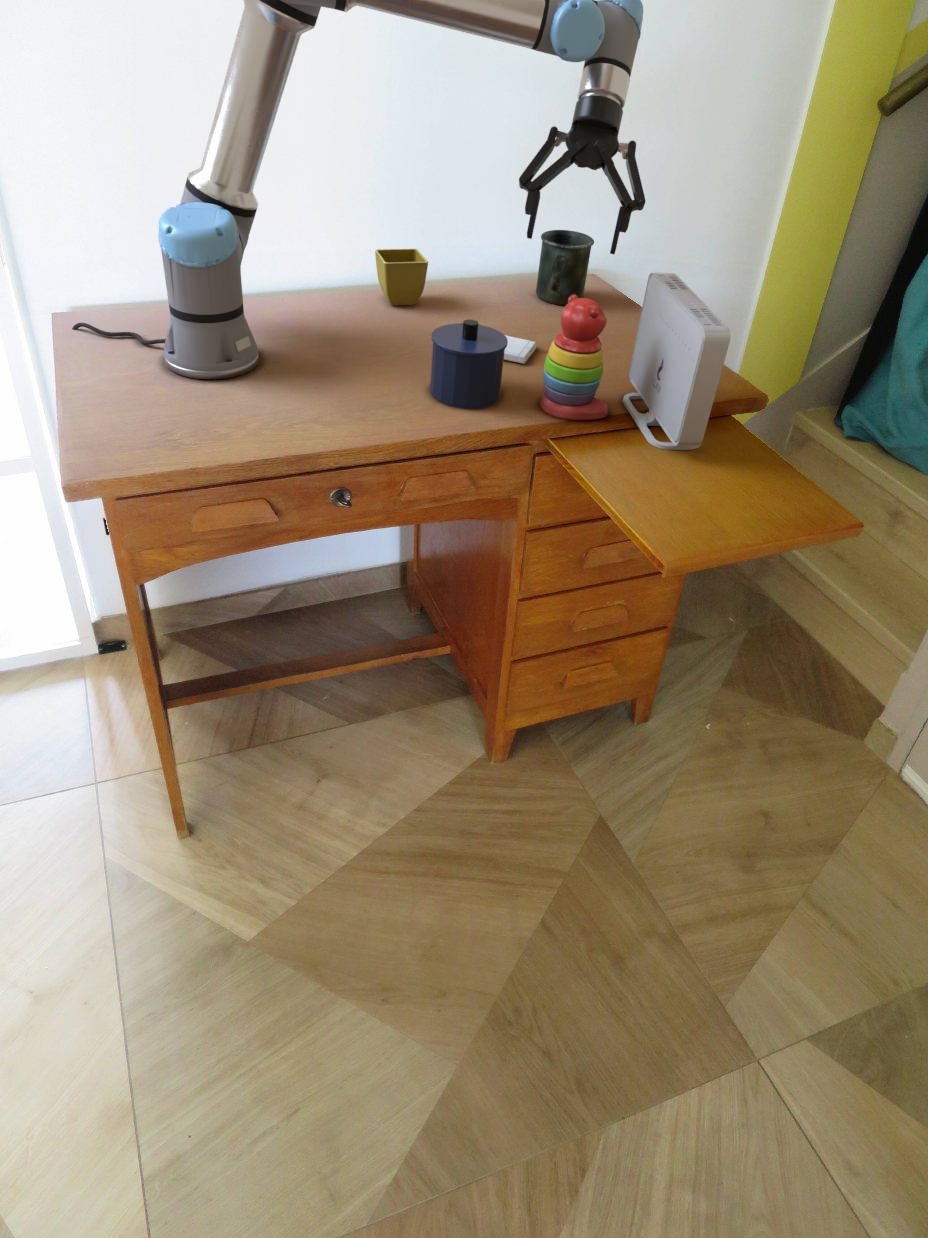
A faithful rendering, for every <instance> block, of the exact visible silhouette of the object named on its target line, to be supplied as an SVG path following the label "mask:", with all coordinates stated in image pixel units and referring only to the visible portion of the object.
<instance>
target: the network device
mask: <svg viewBox="0 0 928 1238" xmlns="http://www.w3.org/2000/svg"><path fill="white" fill-rule="evenodd" d="M646 281H647V282H646V286H645V292H644V297H643V301H642V306H641V311H640V315H639V316H640V317H639V321H638V325H637V330H636V336H635V341H634V345H633V350H632V354H631V360H630V365H629V372H628V377H629V381H630V383H631V384H632V386H633V387H634V389H635V390H636V392H629V393H626V394H624V395H623V398H622V404H623V405H624V407H625V408H626V410H627V412H629V414H630V416H631V417H632V420H633V421H634V422H635V424H636V426H637V428H638V429H639V431H640V432H641V433H642V435H643V437H644V438H645V439H646V441H647V442H648V443H649V444H650V445H651V446H653V447H655V448H658V449H662V450H667V451H669V450H670V451H671V450H673V451H679V450H680V451H682V450H683V451H685V450H686V451H687V450H696V449H698V448H700V447H701V445H702V444H703V441H704V437H705V434H706V431H707V426H708V423H709V419H710V415H711V412H712V408H713V404H714V400H715V397H716V394H717V390H718V386H719V382H720V379H721V375H722V371H723V368H724V364H725V361H726V356H727V354H728V349H729V346H730V342H731V331H730V328H729V326H727V325H726V324H725V322H724V321H722V319H721V318H719V316H718V315H716V314H715V312H714V311H713V310H712V309H711V308H710V307H709V306H708V305H707V304H706V303H705V302H704V301H703V300H702V299H701V298H700V297H699V296H698V295H697V294H696V293H695V292H694V290H692V289H691V288H690V287H689V286H688V284H686V282H684V281H683V280H682V279H681V278H680V277H679V276H678V275H677V274H676V273H675V272H650V273H649V275H648V278H647V280H646ZM632 400H642V401H643V402H644V404H645V405H646V407H647V408H648V409H649V410H648V411H649V413H648V411H647V412H645V413H641V412H639V411H638V410H637V409H636V407H635V405H634V404H633V403H632ZM651 426H652V427H661V429H662V430H663V431H664V433H665V435H666V436H667V438H668V439H669V440H670V441H668V442H667V441H665V442H664V441H660V440H657V439H656V438H655V436H654V435H653V434H652V432H651V430H650V429H649V427H651Z"/></svg>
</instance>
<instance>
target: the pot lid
mask: <svg viewBox="0 0 928 1238" xmlns="http://www.w3.org/2000/svg"><path fill="white" fill-rule="evenodd" d="M462 321H463V322H462V323H461V322H459V323H458V322H457V323H449V324H444V325H441V326H438V327H437V328H435V329H433V331H432V332H431V335H430V337H431V338H430V340H431V342H432V344H433V343H434V344H435V345H436V346H437V347H439V348H441V349H443V350H445V351H448V352H451V353H454V354H459V355H466V356H487V355H493V354H496V353H499V352H501V351H503V350H504V349H505V348H506V347H507V343H508V340H507V338H506V336H507V335H506V334H504V333H503V332H502V331H500V330H498V329H495V328H493V327H490V326H486V325H482V324H479V321H478V320H476V319H470V318H469V319H464V320H462ZM505 335H506V336H505Z"/></svg>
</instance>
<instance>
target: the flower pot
mask: <svg viewBox="0 0 928 1238" xmlns="http://www.w3.org/2000/svg"><path fill="white" fill-rule="evenodd" d="M374 255H375V265H376V266H375V267H376V274H377V275H376V276H377V279H378V283H379V285H380V289H381V291H382V293H383V296H384V298H385V300H387V302H388V304H390V306H409V305H411V306H413V305H416V304H417V303H418V301H419V300H420V298H421V296H422V294H423V293H424V290H425V285H426V279H427V273H428V266H429V261H428V259H427V258H425V256H424V255H423V254H422V253H421V252H420V250H419V249H417V248H383V249H382V248H380V249H379V248H378V249H375V250H374Z"/></svg>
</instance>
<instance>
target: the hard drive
mask: <svg viewBox="0 0 928 1238" xmlns="http://www.w3.org/2000/svg"><path fill="white" fill-rule="evenodd" d="M504 335H505V336H506V338H507V340H508V343H507V347H506V348H505V352H504V361H508V362H514V363H517V364H523V365H524V364H526V362H527V361H528V360H529V359H530V357H531V356H532V354H533V353H534V352H535V351H536V349H537V341H533V340H530V339H529V340H528V339H524V338H520V337H514V336H511V335H506V334H504Z"/></svg>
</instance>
